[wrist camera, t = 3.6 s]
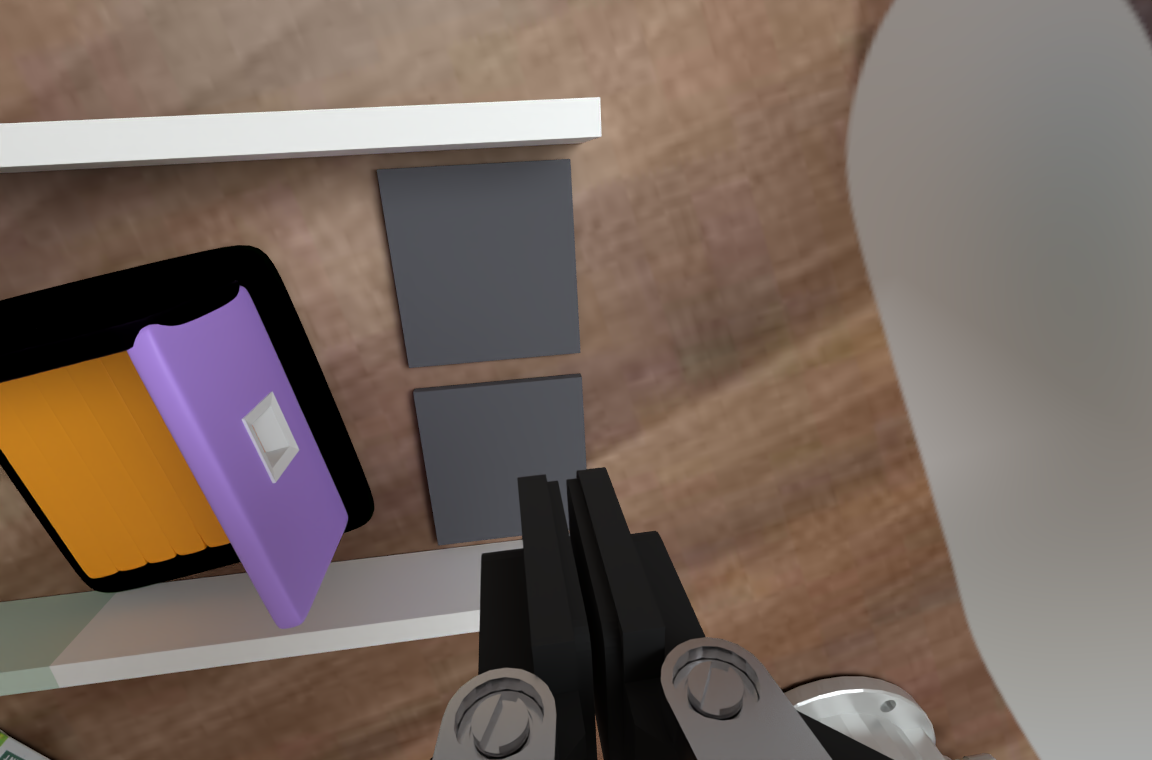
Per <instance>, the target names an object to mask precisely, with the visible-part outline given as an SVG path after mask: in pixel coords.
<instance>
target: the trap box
mask: <svg viewBox="0 0 1152 760" xmlns="http://www.w3.org/2000/svg"><path fill="white" fill-rule="evenodd" d="M598 137H601V111H600V97H596V98H573V99H550V100H528V101H505V102H482V103H459V104H437V105H414V106H391V107H369V108H346V109H323V110H300V111H278V112H255V113H232V114H210V115H187V116H164V117H141V118H119V119H96V120H73V121H51V122H28V123H5V124H0V173H17V172H36V171H55V170H74V169H94V168H113V167H132V166H152V165H171V164H190V163H209V162H229V161H248V160H267V159H286V158H306V157H325V156H344V155H363V154H383V153H402V152H421V151H441V150H460V149H479V148H498V147H518V146H537V145H556V144H575V143H584V142H587V141H590V140H593V139H596V138H598ZM569 536H570V534H569ZM520 548H523V540H515V541H507V542H498V543H490V544H482V545H473V546H465V547H457V548H448V549H440V550H432V551H423V552H415V553H407V554H398V555H390V556H382V557H373V558H365V559H357V560H348V561H340V562H332V563H330V565H329V567H328V569H327V572H326V574H325V576H324V578H323V581H322V583H321V585H320V588H319V590H318V592H317V595H316V597H315V599H314V601H313V604H312V606H311V608H310V611H309V613H308V615H307V617H306V619H305V620H304V622H303V623H302V624H300V625H298V626H296V627H292V628H287V629H281V628H279V627H278V626H277V625H276V624H275V622H274V620H273V619H272V617H271V615H270V614H269V612H268V610H267V608H266V607H265V605H264V603H263V601H262V599H261V598H260V596H259V594H258V592H257V590H256V588H255V587H254V585H253V583H252V581H251V579H250V577H249V576H248V574H247V573H240V574H232V575H223V576H215V577H207V578H198V579H190V580H182V581H173V582H165V583H158V584H154V585H150V586H145V587H141V588H137V589H133V590H128V591H123V592H117V593H103V592H98V591H90V592H82V593H73V594H65V595H57V596H48V597H40V598H32V599H23V600H15V601H7V602H0V696H4V695H11V694H19V693H26V692H33V691H41V690H48V689H56V688H63V687H71V686H78V685H85V684H93V683H100V682H108V681H115V680H122V679H130V678H137V677H145V676H152V675H160V674H167V673H174V672H182V671H189V670H197V669H204V668H211V667H219V666H226V665H234V664H241V663H249V662H256V661H263V660H271V659H278V658H286V657H293V656H300V655H308V654H315V653H323V652H330V651H337V650H345V649H352V648H360V647H367V646H375V645H382V644H389V643H397V642H404V641H412V640H419V639H426V638H434V637H441V636H449V635H456V634H464V633H471V632H478V631H479V626H480V580H481V555H482V553H489V552H497V551H505V550H512V549H520Z"/></svg>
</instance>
